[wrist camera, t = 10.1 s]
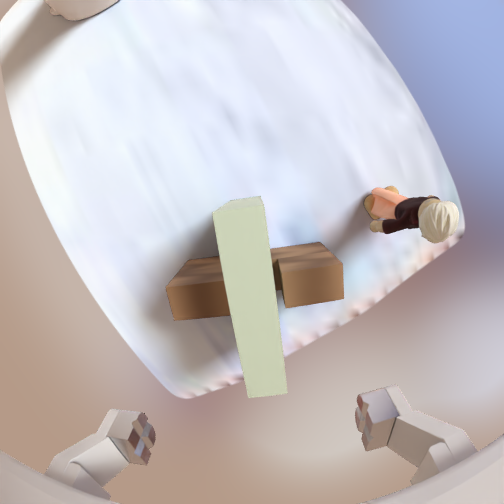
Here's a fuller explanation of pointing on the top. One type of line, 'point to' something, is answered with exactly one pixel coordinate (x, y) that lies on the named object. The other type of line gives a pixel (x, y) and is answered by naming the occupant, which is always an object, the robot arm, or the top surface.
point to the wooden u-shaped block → (285, 278)
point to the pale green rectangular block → (251, 294)
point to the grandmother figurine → (411, 214)
